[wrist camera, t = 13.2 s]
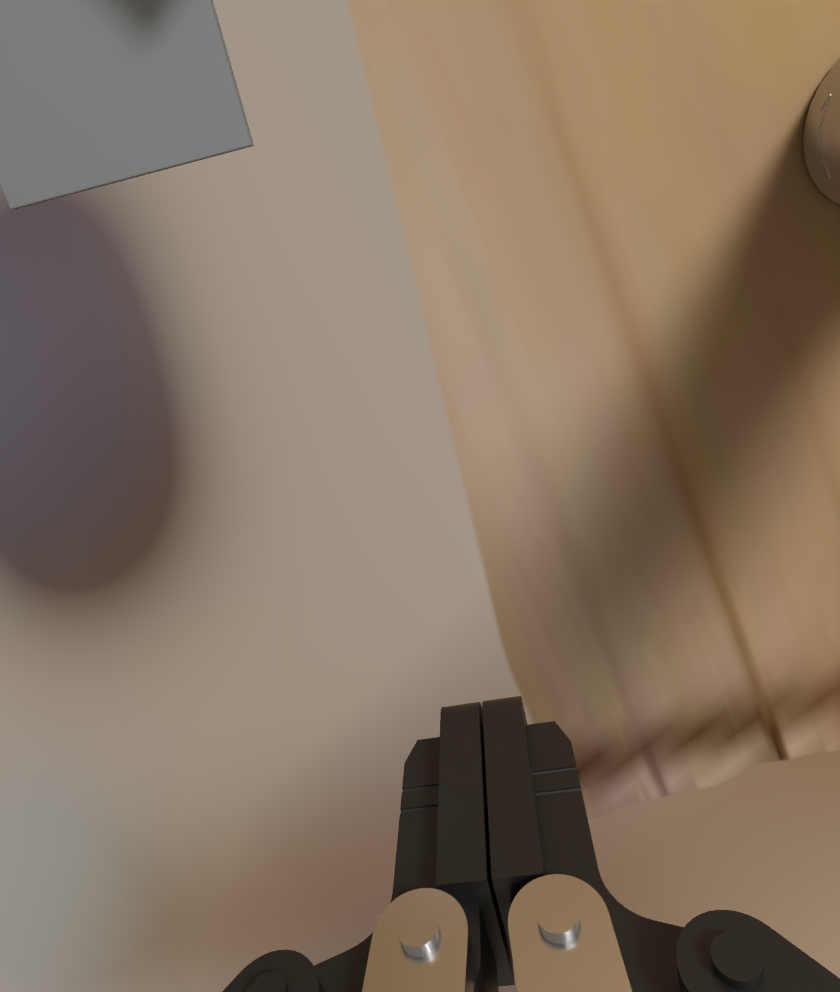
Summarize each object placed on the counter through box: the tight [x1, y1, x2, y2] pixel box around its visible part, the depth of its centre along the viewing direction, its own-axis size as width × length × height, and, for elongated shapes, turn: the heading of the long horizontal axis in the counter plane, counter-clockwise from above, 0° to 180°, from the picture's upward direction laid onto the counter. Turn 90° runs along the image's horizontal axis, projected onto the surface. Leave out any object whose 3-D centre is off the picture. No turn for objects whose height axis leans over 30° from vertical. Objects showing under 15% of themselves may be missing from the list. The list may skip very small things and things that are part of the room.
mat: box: [0, 0, 254, 209], centre depth 37 cm, size 16×18×1 cm
